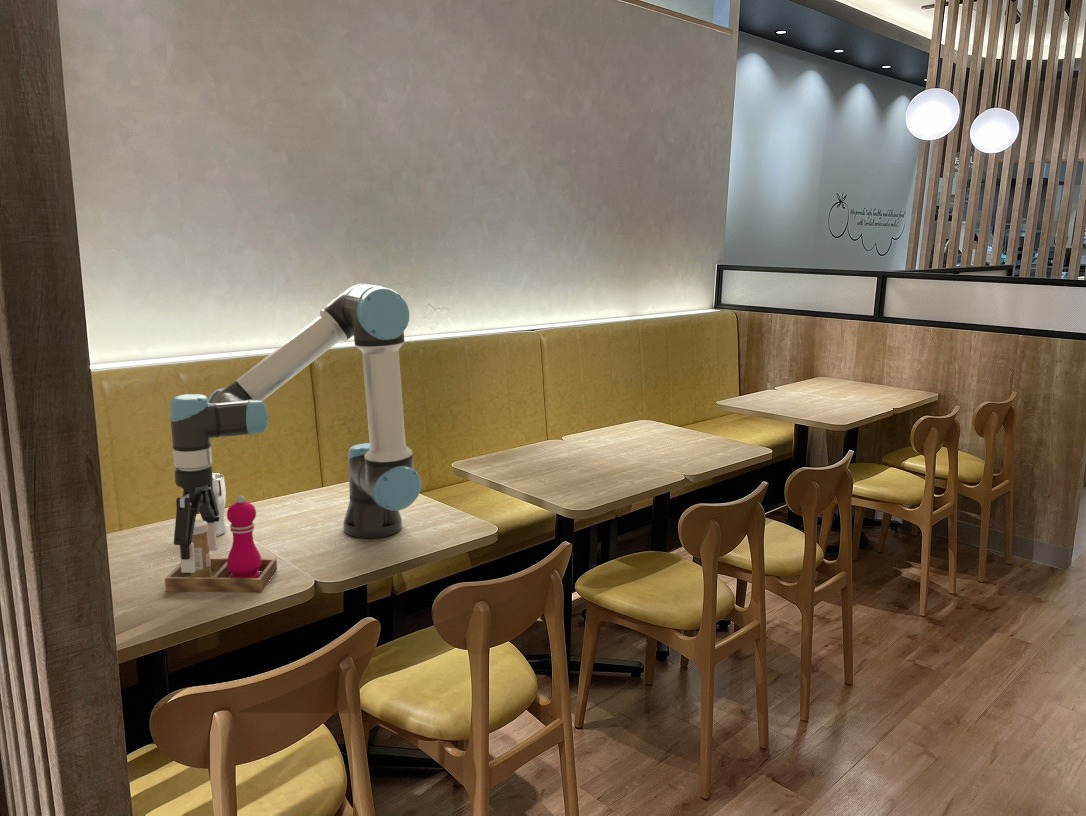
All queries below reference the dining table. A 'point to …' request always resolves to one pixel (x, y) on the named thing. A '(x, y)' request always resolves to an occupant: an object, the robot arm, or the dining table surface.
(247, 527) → the pepper mill
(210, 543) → the robot arm
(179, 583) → the caddy
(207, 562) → the sprinkles bottle
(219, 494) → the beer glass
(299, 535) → the dining table surface
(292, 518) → the dining table surface
